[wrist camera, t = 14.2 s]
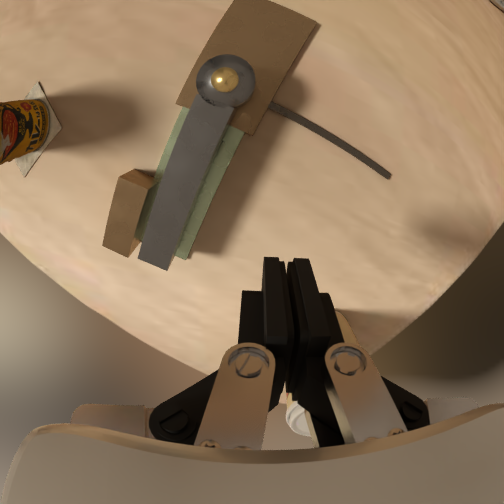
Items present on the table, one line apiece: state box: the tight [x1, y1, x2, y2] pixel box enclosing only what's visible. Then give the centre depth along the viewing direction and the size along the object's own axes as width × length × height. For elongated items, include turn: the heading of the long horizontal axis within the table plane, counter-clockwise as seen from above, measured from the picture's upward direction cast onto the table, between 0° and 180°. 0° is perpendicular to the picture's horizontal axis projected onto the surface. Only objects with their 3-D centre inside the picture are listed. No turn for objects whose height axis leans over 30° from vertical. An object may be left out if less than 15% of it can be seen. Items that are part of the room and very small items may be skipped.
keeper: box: [102, 107, 245, 260], centre depth 21 cm, size 8×14×3 cm, turn 154°
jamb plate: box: [176, 0, 391, 179], centre depth 19 cm, size 20×12×1 cm, turn 64°
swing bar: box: [138, 54, 255, 271], centre depth 19 cm, size 18×4×4 cm, turn 155°
